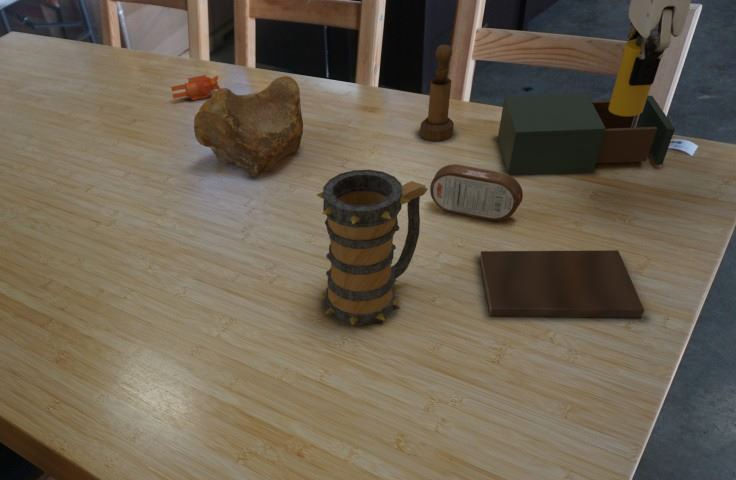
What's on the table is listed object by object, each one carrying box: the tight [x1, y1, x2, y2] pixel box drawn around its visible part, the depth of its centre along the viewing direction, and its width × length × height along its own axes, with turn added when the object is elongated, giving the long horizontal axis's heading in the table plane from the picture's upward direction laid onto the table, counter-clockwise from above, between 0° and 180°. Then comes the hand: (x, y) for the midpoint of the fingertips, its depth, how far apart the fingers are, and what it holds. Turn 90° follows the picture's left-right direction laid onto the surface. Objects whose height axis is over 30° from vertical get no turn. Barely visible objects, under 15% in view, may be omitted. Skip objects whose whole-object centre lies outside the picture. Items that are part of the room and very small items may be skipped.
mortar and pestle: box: [419, 43, 455, 142], centre depth 133 cm, size 7×6×18 cm
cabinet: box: [497, 92, 606, 176], centre depth 125 cm, size 15×15×9 cm
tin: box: [429, 163, 524, 222], centre depth 114 cm, size 15×3×8 cm, turn 58°
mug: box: [315, 169, 429, 326], centre depth 97 cm, size 13×17×20 cm
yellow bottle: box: [608, 35, 656, 117], centre depth 101 cm, size 5×5×11 cm
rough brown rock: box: [193, 75, 304, 177], centre depth 135 cm, size 23×17×15 cm
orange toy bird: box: [170, 74, 221, 101], centre depth 166 cm, size 5×8×12 cm
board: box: [479, 249, 645, 319], centre depth 100 cm, size 20×14×2 cm
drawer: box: [591, 95, 676, 166], centre depth 123 cm, size 15×13×7 cm
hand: (635, 75), depth 101 cm, fingers closed on yellow bottle, 4 cm apart
